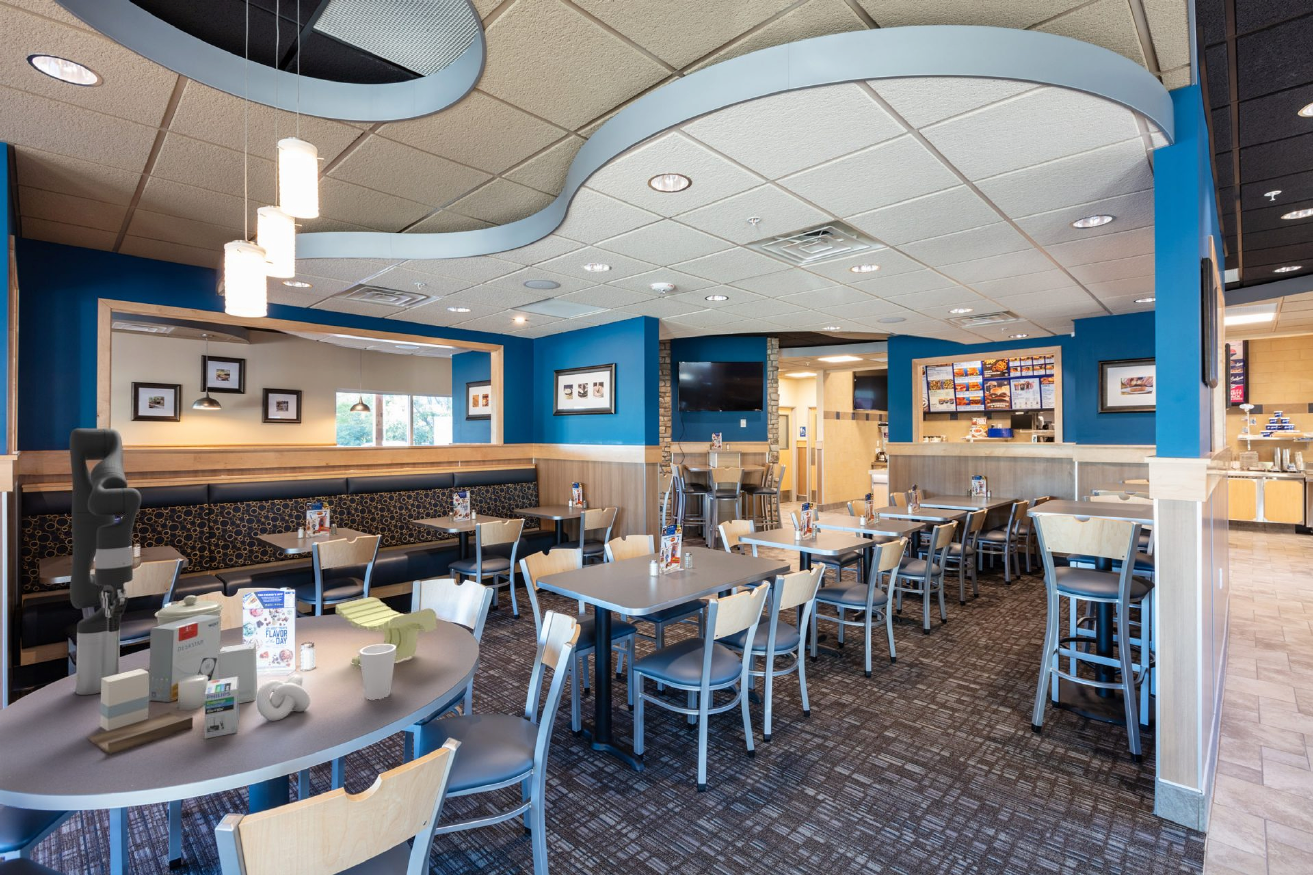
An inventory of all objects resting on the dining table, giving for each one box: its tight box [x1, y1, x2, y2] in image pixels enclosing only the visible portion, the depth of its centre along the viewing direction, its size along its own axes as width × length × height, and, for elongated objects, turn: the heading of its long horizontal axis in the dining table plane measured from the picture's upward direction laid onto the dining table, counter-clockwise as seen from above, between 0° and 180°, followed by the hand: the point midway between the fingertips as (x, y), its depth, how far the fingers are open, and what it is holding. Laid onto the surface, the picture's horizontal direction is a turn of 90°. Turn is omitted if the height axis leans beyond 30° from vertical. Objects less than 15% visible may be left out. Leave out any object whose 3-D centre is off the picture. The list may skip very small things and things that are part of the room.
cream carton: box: [99, 668, 150, 731], centre depth 156 cm, size 5×8×12 cm, turn 147°
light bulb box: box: [204, 677, 240, 740], centre depth 153 cm, size 11×7×11 cm, turn 33°
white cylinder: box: [177, 675, 208, 711], centre depth 167 cm, size 6×6×7 cm
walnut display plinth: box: [88, 712, 194, 755], centre depth 150 cm, size 14×16×3 cm
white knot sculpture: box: [256, 674, 311, 722], centre depth 162 cm, size 11×12×9 cm
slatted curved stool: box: [335, 596, 437, 666], centre depth 203 cm, size 30×16×18 cm, turn 59°
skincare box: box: [218, 642, 258, 704], centre depth 170 cm, size 8×6×15 cm
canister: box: [154, 595, 224, 626], centre depth 203 cm, size 18×18×21 cm
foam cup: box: [358, 643, 396, 701], centre depth 174 cm, size 10×9×13 cm
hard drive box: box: [148, 615, 222, 703], centre depth 177 cm, size 16×8×20 cm, turn 168°
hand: (113, 630), depth 162 cm, fingers closed
